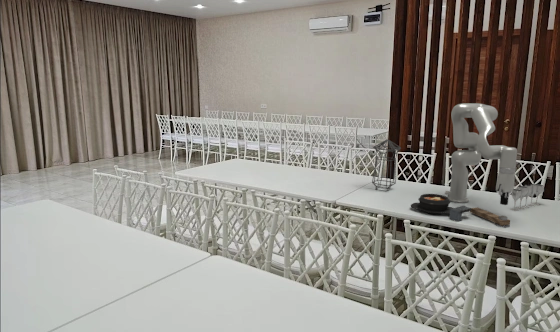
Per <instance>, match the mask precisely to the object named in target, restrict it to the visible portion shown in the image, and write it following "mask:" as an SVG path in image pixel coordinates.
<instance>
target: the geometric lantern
mask: <svg viewBox="0 0 560 332" xmlns="http://www.w3.org/2000/svg"><path fill="white" fill-rule="evenodd" d="M387 144H388V146H387ZM372 148H373V149H374V150H375V163H374V170H373V174H372V179H371V181H372V182H371V183H372V184H373V185H374V187H375V190H376V191H378V189H379V188H381V189H382V190H381V189H380V191H381V192H382V191H383V192H385V190H386V192H388V191H390V190H391V187H392V186H394V185H395V184H396V182H397V180H396V179H397V178H396V177H397V175H396V173H397V171H396V170H397V155H398V153H399V151H400V150H401V149H402V147H401V146H399V145H397V144H396V143H395V142H393V141H391V140H390V139H385V140H383V141H381V142H380V143H378V144H376V145H375V146H372ZM381 150H382V151H383V152H381ZM385 151H386V152H385ZM377 152H378V153H379V155H378V156H377V154H378V153H377ZM389 152H391V153H392V154H393V155H392V157H389V156H387V154H388V153H389ZM383 154H384V155H383ZM382 155H383V156H382ZM385 158H386V159H385ZM378 160H380V162H379V169H378V173H377V165H378ZM385 161H387V164H389V162H390V165H387V167H386V168H387V169H386V178H388V174H389V180H388V179H386V180H383V172H384V163H385ZM392 161H394V163H393V176H392ZM381 165H382V167H381ZM389 168H390V169H389ZM389 170H390V171H389ZM380 171H381V174H380ZM376 173H377V179H376ZM380 175H381V177H380ZM379 177H380V179H379ZM392 177H393V178H392ZM391 179H392V181H391ZM382 182H386V183H385V184H382ZM388 183H389V185H388ZM383 189H385V190H383Z"/></svg>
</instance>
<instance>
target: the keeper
mask: <svg viewBox="0 0 560 332" xmlns="http://www.w3.org/2000/svg"><path fill="white" fill-rule="evenodd" d="M472 208H473V207H469V206H465V205H461V206H457V207H453V209H450V214H449V220H452V221H454V220H455V222H460V221H462V216H463V214H465V213H470V211H471V209H472Z"/></svg>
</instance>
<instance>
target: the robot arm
mask: <svg viewBox="0 0 560 332" xmlns="http://www.w3.org/2000/svg"><path fill="white" fill-rule="evenodd" d="M498 115H499V112H498V110H497V108H496V107H494V106H492V105H488V104H484V103H475V102H474V103H473V102H472V103H468V102H467V103H466V102H465V103H458V104H456V105H455V106H453V108H452V110H451V116H450V117H451V122H452V127H453V128H452V129H453V130H452V133H453V135H452V136H453V138H452V139H453V144H454V145H453V146H454V147H455V148H459V149H460V150H455V151H454V152H453V153H451V158H450V160H451V176H450V177H451V178H450V179H451V180H450V187H449V188H450V189H449V190H445V192H444V195H447V197H448V199H449V201H450V202H452V203H458V204H459V203H460V204H461V203H462V204H465V203H469V200H470V199H469V198H468V197H467V195H468V194H467V192H468V183H469V170H468V168H467V166H468V167H469V166H478V165H479V164H480V163H481V160H482V158H484V159H485V160H499V164H498V165H499V169H498V174H497V178H496V185H495V191H496V192H498V195H499V197H500V200H499V203H500V205H504V206H508V204H509V197H510V194H512V191H513V189H515V176H516V168H517V158H518V156H517V155H518V149H517V148H516V147H513V146H506V145H502V144H501V145H497V144H496V145H490V144H489V142H488V139H487V137H488V136H489V135H491V134H492V133H493V132H495V131H496V126H495V124H494V122H495V120H496V119H497V118H498ZM466 118H472V121H473V123H474V125H475V127H476V129H477V131H478V133H476V132H470V131H469V124H468V122H467V120H466ZM493 121H494V122H493ZM462 149H463V150H462Z"/></svg>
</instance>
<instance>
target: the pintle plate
mask: <svg viewBox="0 0 560 332" xmlns="http://www.w3.org/2000/svg"><path fill="white" fill-rule="evenodd" d="M493 223H494V225H495V226H496V227H500V228H510V227H511V224H510V225H499V224H497V223H495V222H493Z"/></svg>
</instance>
